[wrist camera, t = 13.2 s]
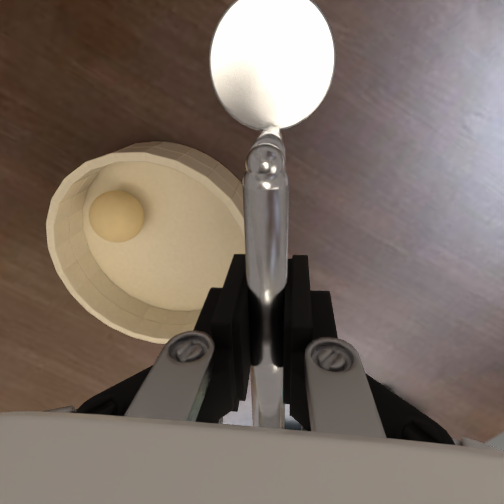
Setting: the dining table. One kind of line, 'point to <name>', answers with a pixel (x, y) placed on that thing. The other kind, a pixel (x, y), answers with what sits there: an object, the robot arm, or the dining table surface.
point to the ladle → (269, 156)
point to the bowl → (149, 237)
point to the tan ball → (116, 216)
